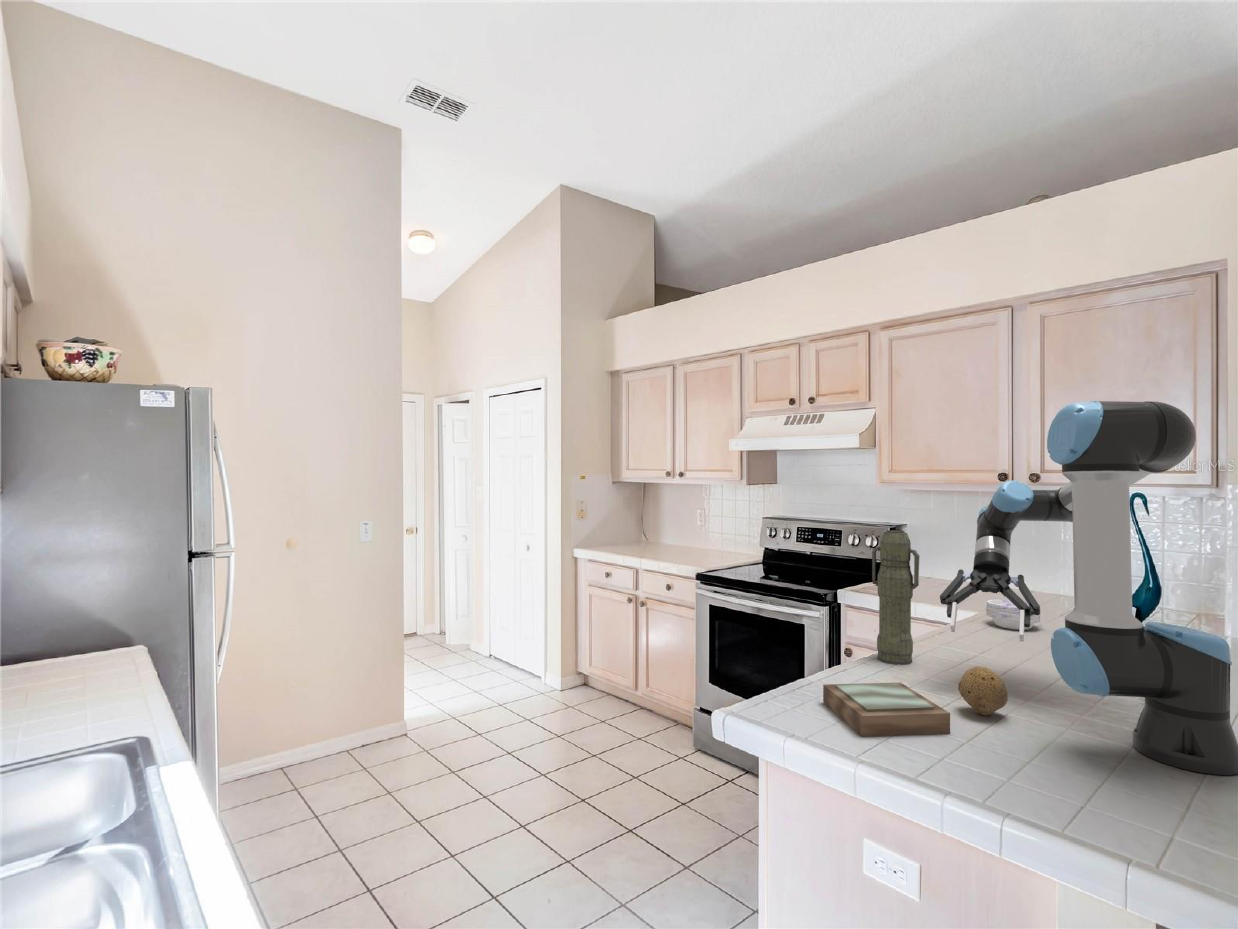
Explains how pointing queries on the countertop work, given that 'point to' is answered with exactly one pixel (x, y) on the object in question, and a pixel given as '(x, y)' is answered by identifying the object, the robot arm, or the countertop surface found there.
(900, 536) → the thermos
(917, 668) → the countertop surface
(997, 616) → the paper bowls
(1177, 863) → the countertop surface
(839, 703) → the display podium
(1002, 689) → the brown rounded lump
